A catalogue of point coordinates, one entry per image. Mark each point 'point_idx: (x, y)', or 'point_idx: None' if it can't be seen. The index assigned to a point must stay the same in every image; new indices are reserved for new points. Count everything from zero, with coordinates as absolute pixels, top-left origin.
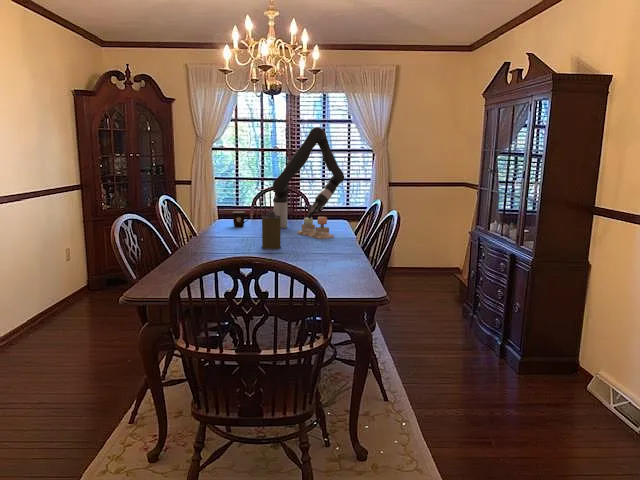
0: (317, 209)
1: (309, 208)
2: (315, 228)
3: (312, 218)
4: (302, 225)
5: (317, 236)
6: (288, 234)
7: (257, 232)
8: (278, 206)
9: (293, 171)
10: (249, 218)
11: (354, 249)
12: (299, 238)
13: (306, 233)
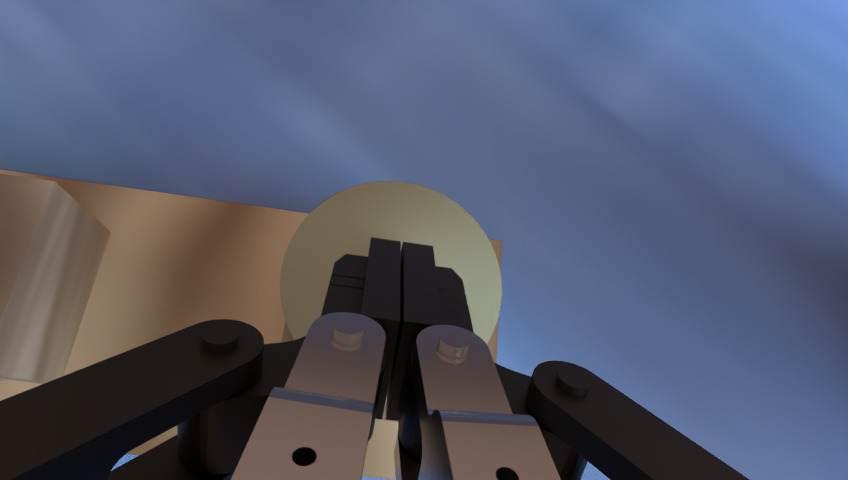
0: (29, 399)
1: (653, 441)
2: (60, 190)
3: (297, 334)
4: None
5: (8, 173)
6: (503, 131)
7: (775, 9)
8: None
9: None
10: None
11: None
12: (215, 41)
13: (279, 209)
